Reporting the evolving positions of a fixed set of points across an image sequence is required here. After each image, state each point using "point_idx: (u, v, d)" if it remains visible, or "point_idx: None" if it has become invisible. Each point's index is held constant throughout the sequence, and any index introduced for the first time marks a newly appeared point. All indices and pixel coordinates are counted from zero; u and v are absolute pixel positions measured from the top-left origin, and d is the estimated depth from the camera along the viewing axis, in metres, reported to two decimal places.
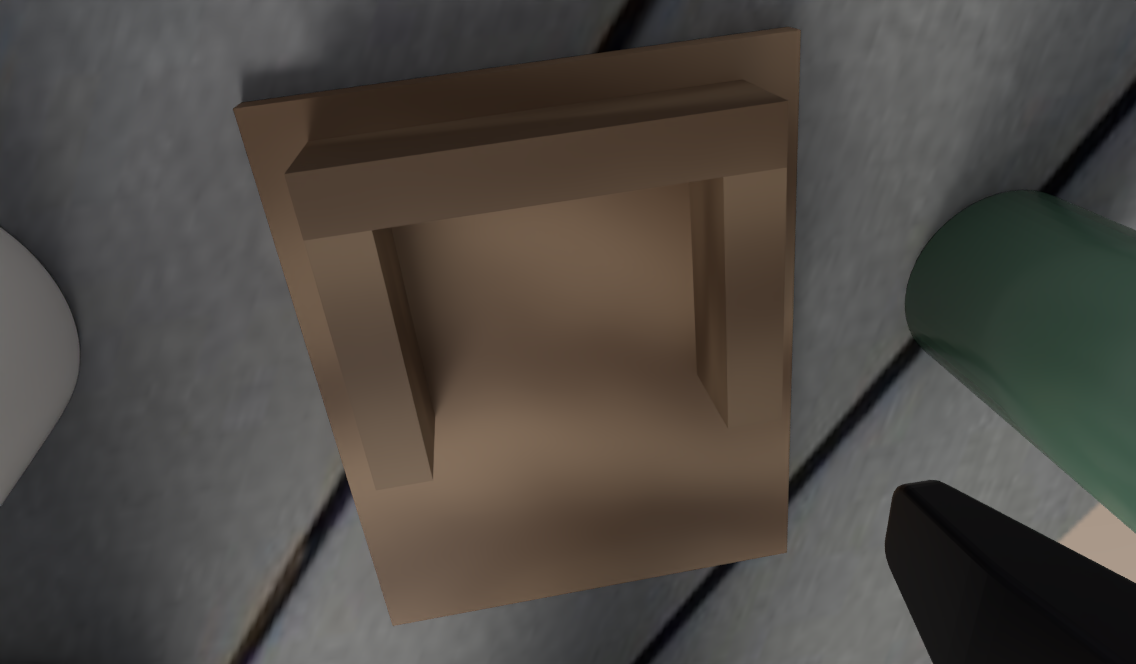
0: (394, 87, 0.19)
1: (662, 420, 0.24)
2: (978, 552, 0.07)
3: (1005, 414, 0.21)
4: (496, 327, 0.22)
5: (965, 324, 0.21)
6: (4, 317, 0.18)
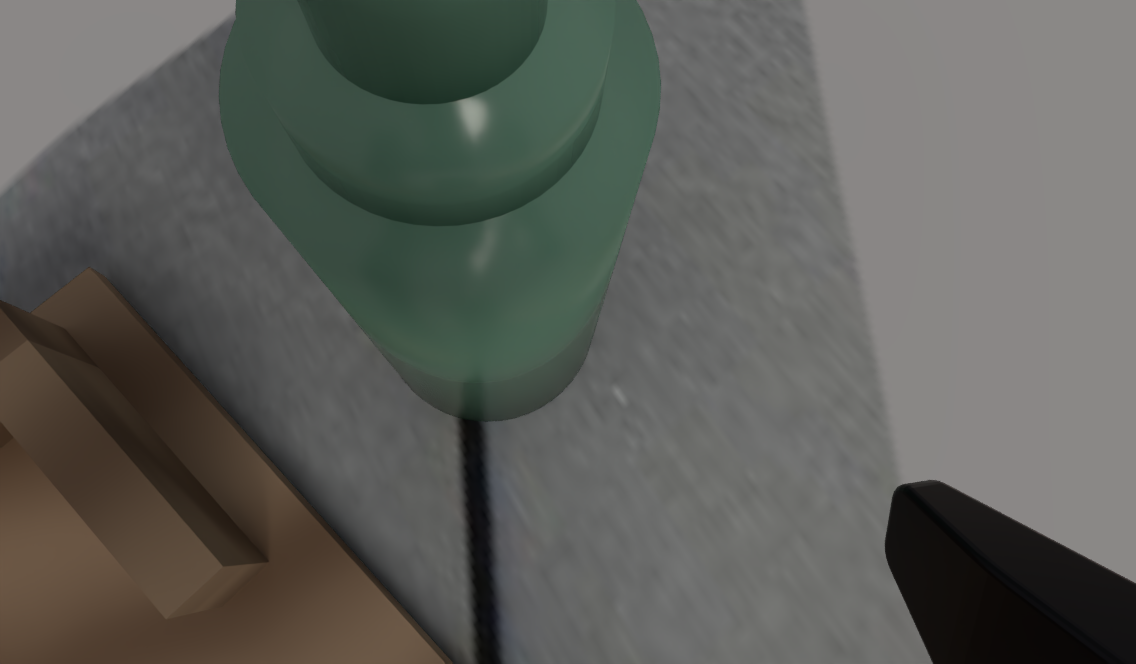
0: None
1: None
2: (978, 552, 0.07)
3: (434, 383, 0.17)
4: None
5: None
6: None
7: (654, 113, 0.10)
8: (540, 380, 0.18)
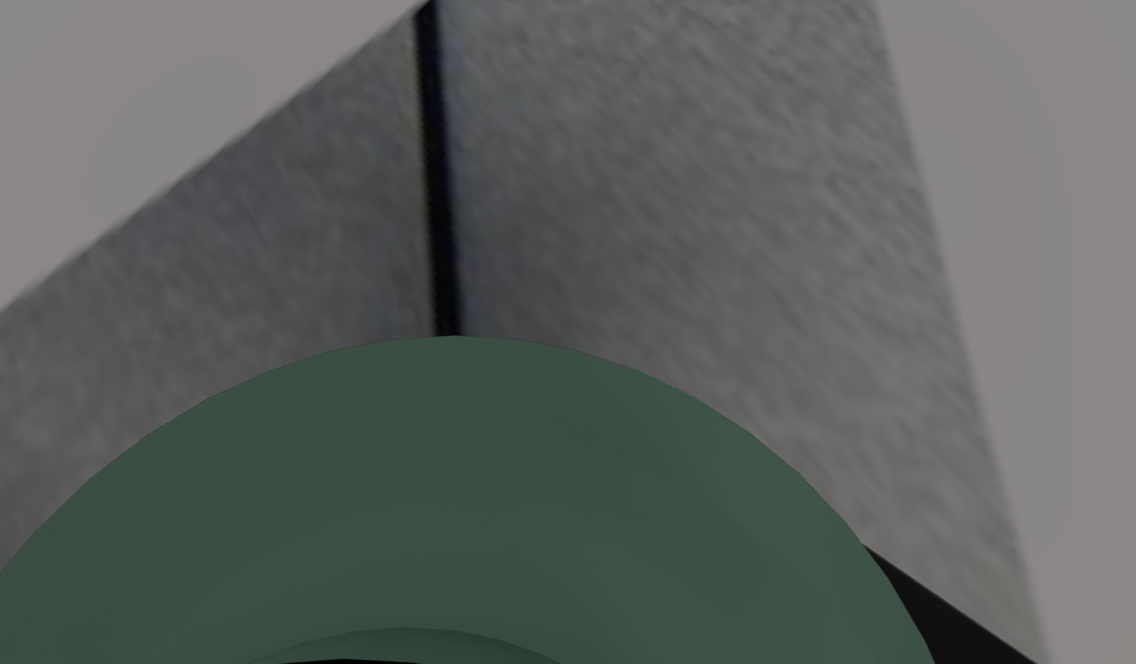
0: None
1: None
2: None
3: None
4: None
5: None
6: None
7: None
8: None
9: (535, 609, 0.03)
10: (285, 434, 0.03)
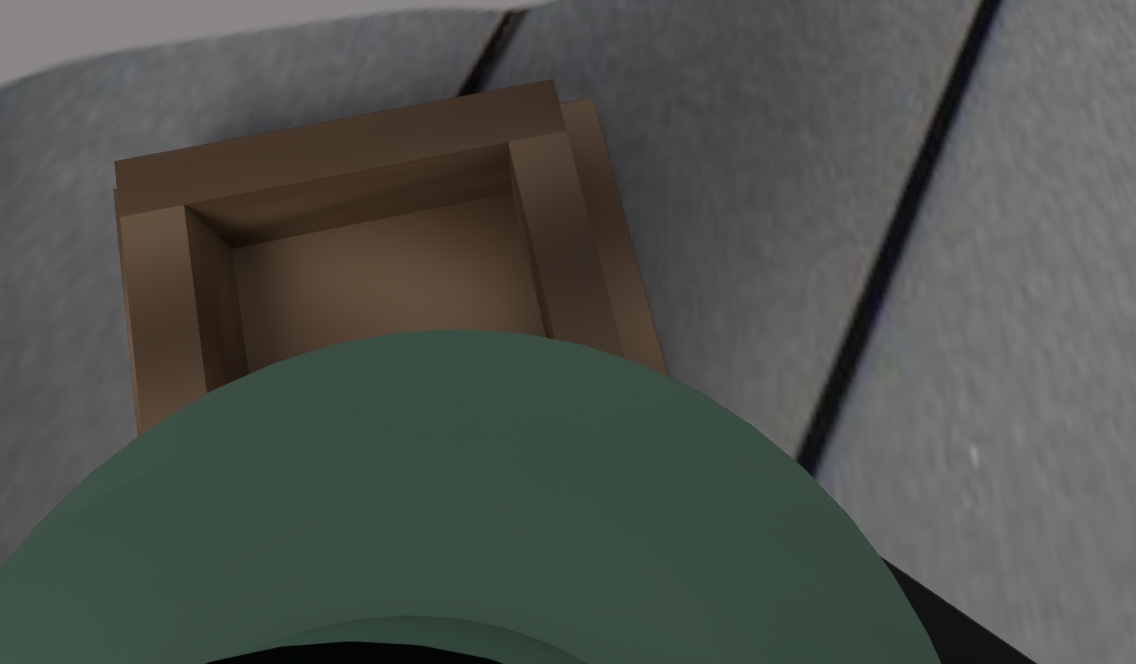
0: None
1: None
2: None
3: None
4: None
5: None
6: None
7: None
8: None
9: (540, 597, 0.03)
10: (290, 423, 0.03)
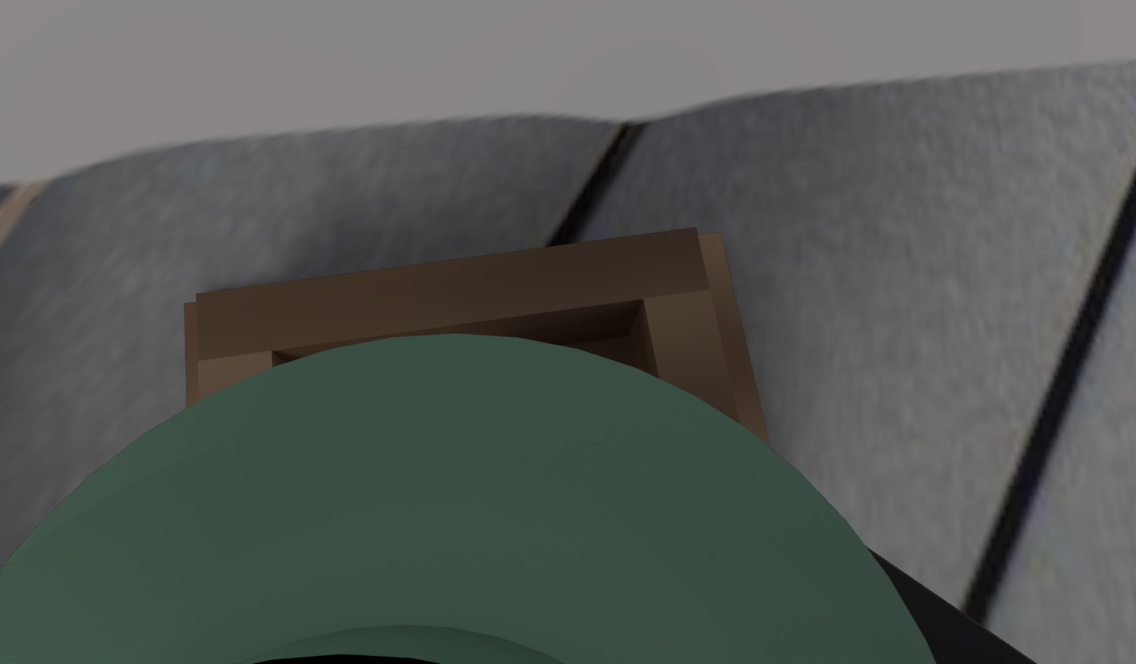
0: None
1: None
2: None
3: None
4: None
5: None
6: None
7: None
8: None
9: (534, 606, 0.03)
10: (283, 431, 0.03)
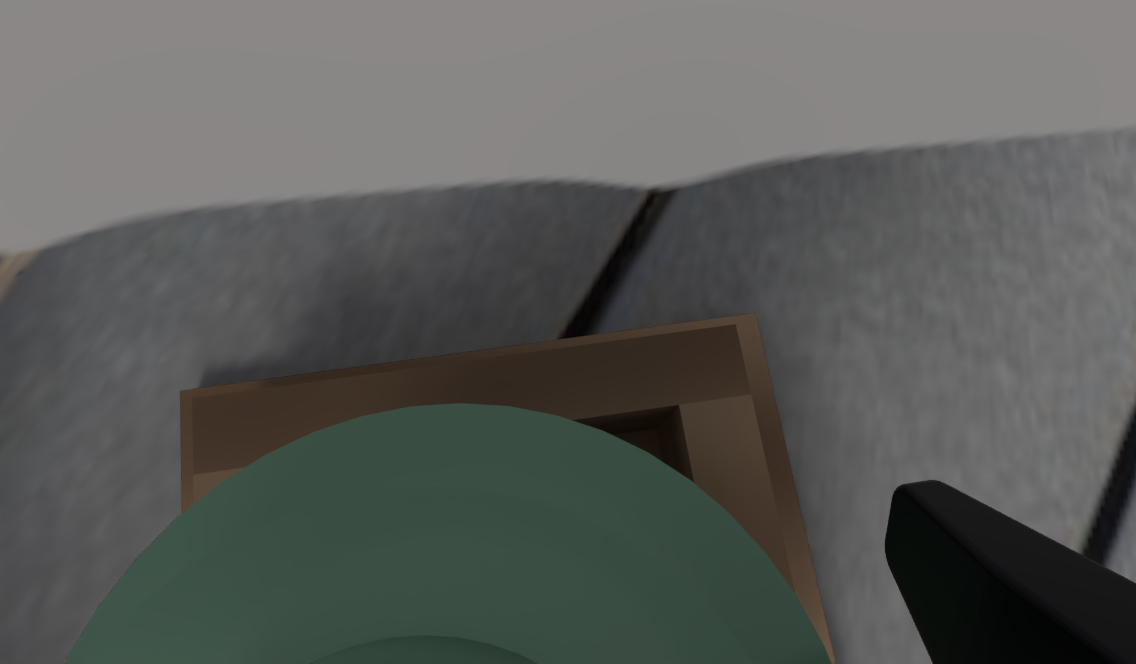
0: (344, 369, 0.18)
1: None
2: (978, 552, 0.07)
3: None
4: None
5: None
6: None
7: None
8: None
9: (514, 622, 0.04)
10: (339, 499, 0.04)
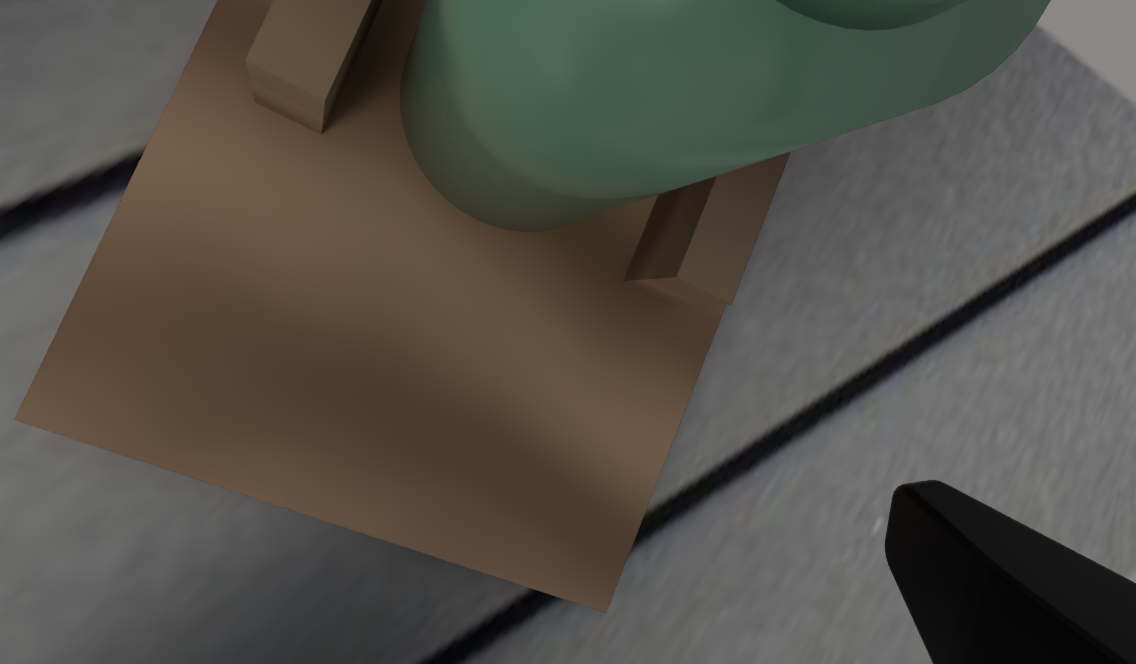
0: None
1: (561, 316, 0.19)
2: (978, 552, 0.07)
3: (471, 143, 0.14)
4: None
5: (416, 66, 0.15)
6: None
7: (1028, 27, 0.08)
8: (571, 211, 0.15)
9: None
10: None
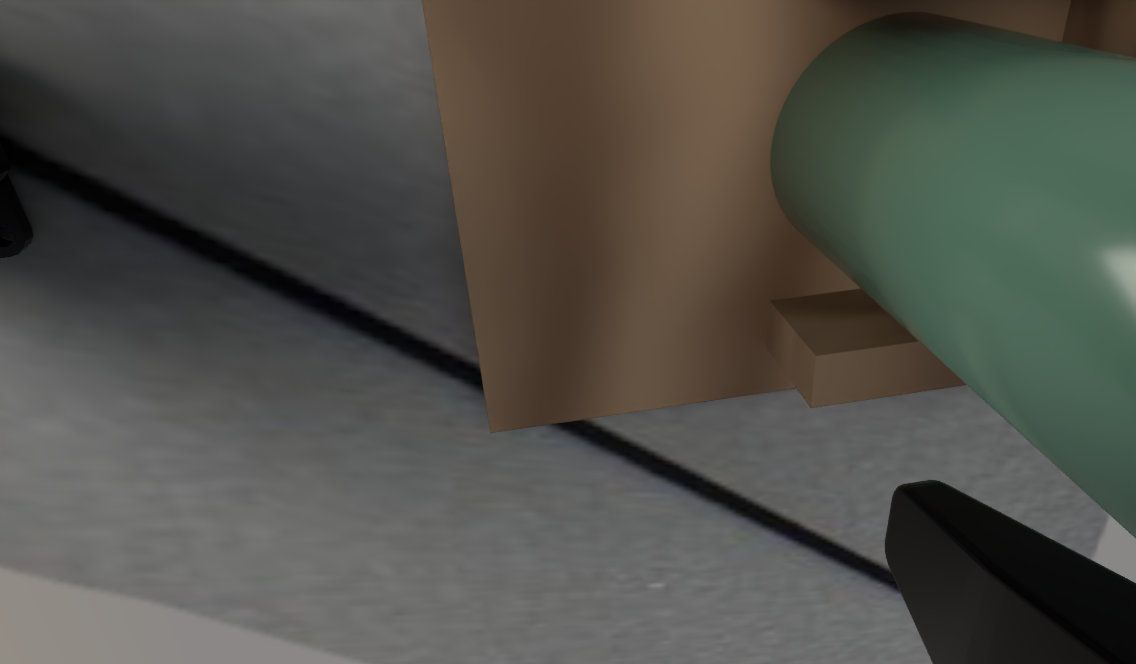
0: None
1: (717, 269, 0.20)
2: (978, 551, 0.07)
3: (887, 157, 0.14)
4: None
5: (917, 54, 0.15)
6: None
7: None
8: (849, 258, 0.16)
9: None
10: None
